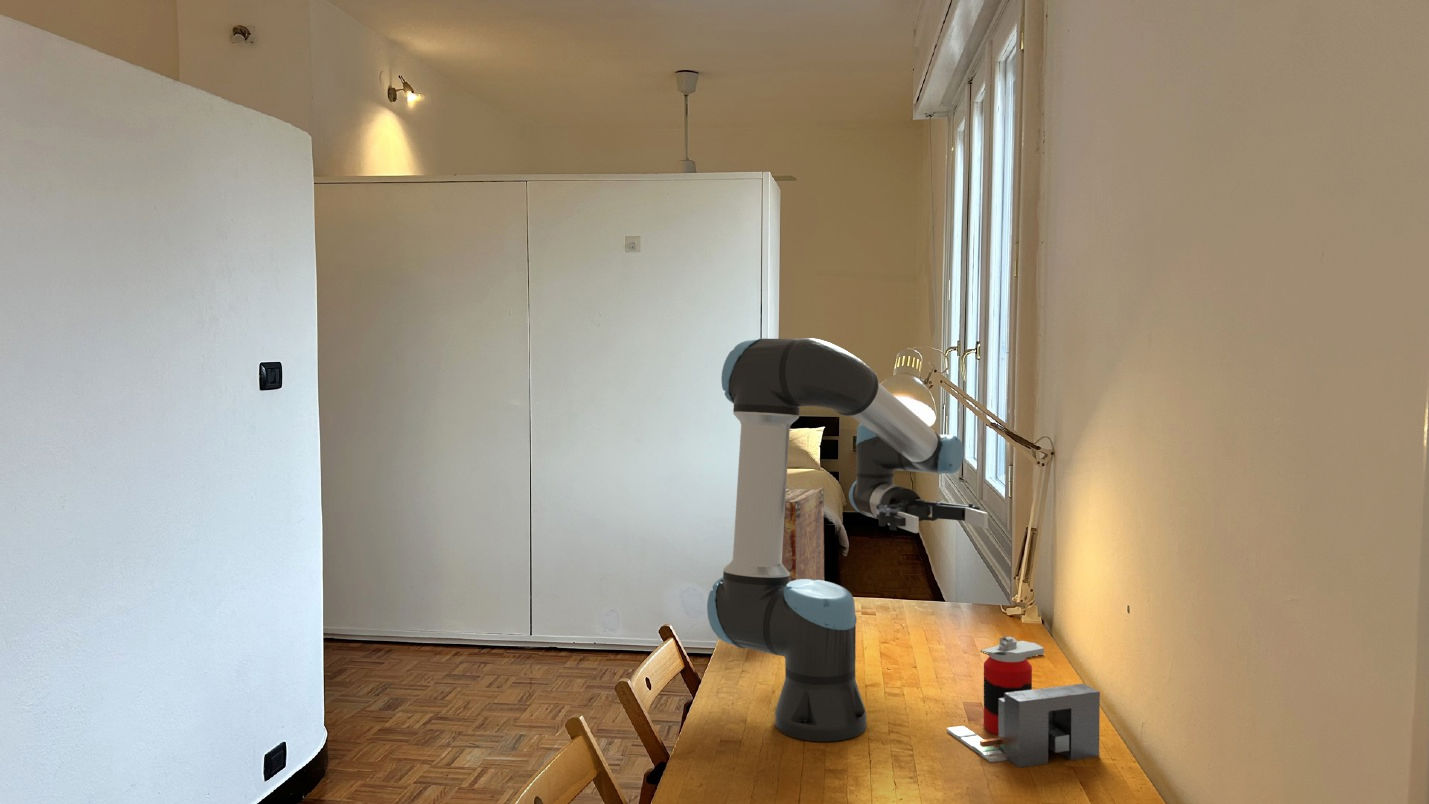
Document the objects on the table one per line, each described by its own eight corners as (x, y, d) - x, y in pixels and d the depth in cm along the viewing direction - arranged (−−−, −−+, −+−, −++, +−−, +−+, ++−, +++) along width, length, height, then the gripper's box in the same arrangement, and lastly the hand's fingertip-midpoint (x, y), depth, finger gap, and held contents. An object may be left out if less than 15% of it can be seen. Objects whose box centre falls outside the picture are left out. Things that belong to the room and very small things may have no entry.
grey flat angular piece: (1005, 642, 216) (1005, 625, 216) (1050, 655, 207) (1051, 636, 207) (969, 653, 209) (969, 635, 208) (1014, 666, 200) (1014, 647, 199)
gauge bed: (1001, 770, 150) (1001, 703, 149) (947, 731, 165) (947, 671, 164) (1099, 756, 154) (1099, 691, 154) (1037, 719, 170) (1037, 661, 169)
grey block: (1003, 769, 149) (1003, 716, 149) (977, 752, 156) (977, 701, 155) (1098, 756, 154) (1099, 704, 153) (1070, 739, 160) (1070, 689, 160)
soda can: (1011, 718, 171) (1012, 647, 170) (1041, 733, 164) (1041, 660, 163) (974, 724, 168) (974, 653, 167) (1002, 740, 161) (1003, 666, 160)
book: (787, 609, 244) (786, 485, 243) (824, 612, 241) (824, 487, 239) (755, 637, 220) (754, 501, 219) (796, 641, 217) (795, 502, 216)
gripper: (953, 520, 201) (1014, 539, 180) (837, 528, 194) (886, 548, 173) (953, 483, 200) (1014, 497, 180) (837, 489, 193) (886, 505, 173)
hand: (951, 522), depth 177 cm, fingers open, 13 cm apart
